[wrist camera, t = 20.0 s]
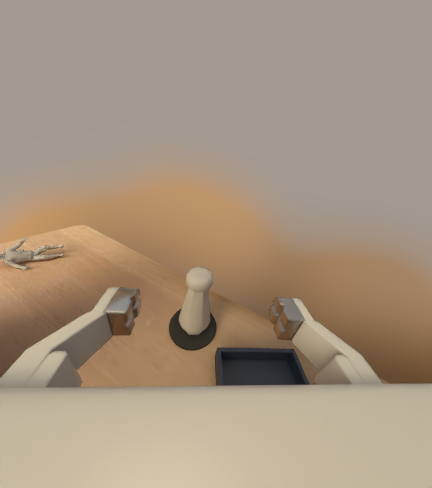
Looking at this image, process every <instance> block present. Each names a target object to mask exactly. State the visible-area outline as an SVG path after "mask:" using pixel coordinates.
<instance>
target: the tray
mask: <svg viewBox="0 0 432 488" xmlns="http://www.w3.org/2000/svg"><path fill="white" fill-rule="evenodd" d="M215 370H216V386H230V385H310V384H309V382H308V380H307V377H306V375H305V373H304V371H303V368H302V366H301V364H300V362H299V360H298V357H297V355H296V353H295V351H294V349H269V348H217V350H216V354H215Z"/></svg>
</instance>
